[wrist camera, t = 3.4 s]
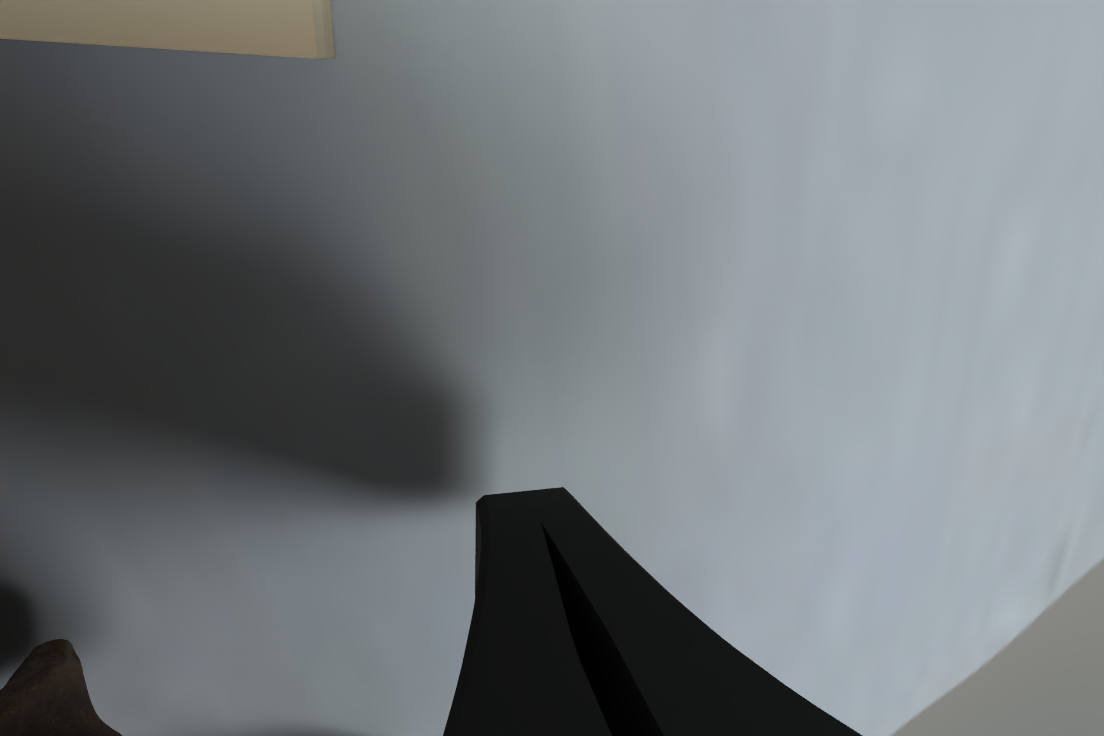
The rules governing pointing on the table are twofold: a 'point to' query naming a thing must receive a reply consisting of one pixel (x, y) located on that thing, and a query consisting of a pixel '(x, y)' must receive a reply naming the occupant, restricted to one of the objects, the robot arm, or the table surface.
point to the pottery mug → (50, 696)
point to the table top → (178, 25)
